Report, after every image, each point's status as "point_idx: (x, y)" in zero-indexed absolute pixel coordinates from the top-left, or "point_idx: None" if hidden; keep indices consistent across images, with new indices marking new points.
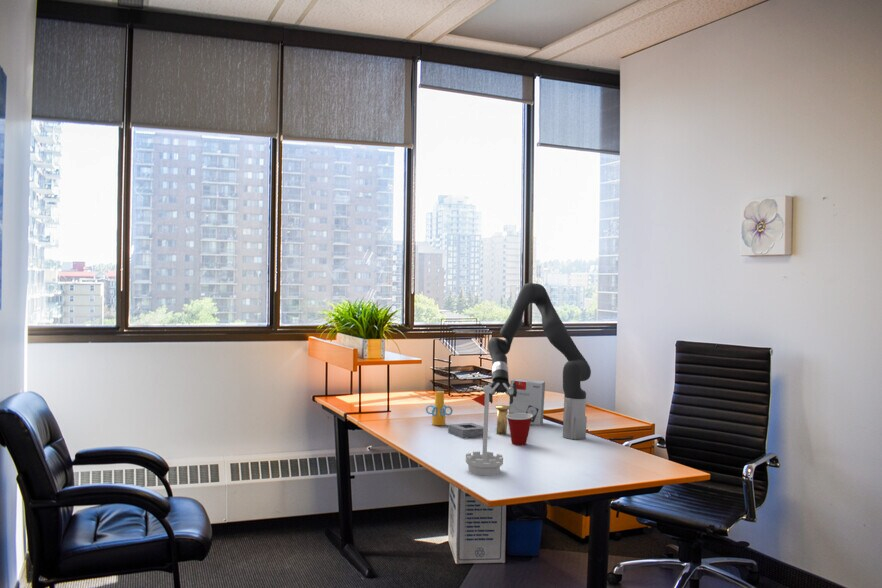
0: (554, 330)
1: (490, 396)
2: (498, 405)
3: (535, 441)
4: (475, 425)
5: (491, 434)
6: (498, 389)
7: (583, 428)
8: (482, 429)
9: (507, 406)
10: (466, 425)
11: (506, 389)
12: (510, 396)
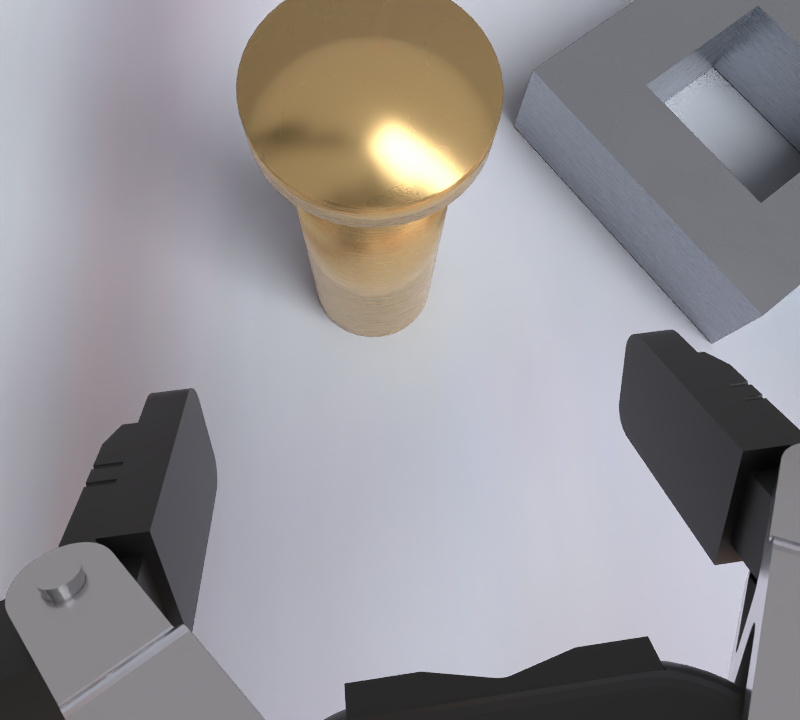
0: None
1: (751, 417)
2: (458, 145)
3: (30, 38)
4: (686, 168)
5: (477, 221)
6: (622, 675)
7: None
8: (577, 46)
9: (273, 92)
10: (789, 181)
11: (247, 713)
12: (148, 486)
